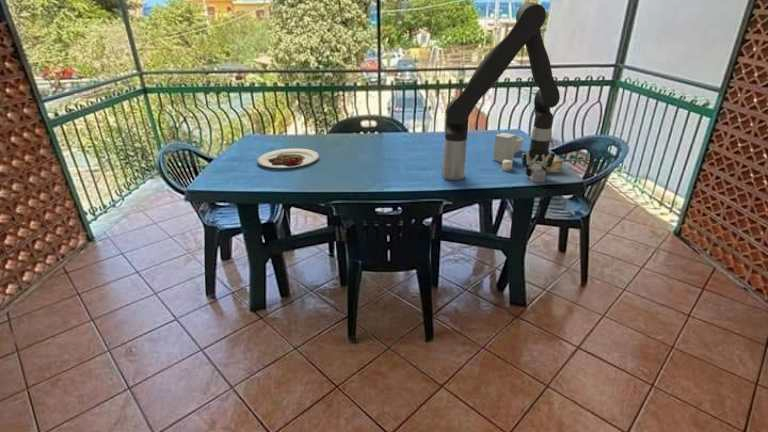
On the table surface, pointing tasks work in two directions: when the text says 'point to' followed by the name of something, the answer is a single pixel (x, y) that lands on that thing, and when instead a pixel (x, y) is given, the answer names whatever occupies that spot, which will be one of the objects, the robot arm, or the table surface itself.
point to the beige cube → (507, 165)
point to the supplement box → (504, 147)
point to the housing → (537, 173)
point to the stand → (555, 165)
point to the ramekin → (518, 144)
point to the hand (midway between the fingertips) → (535, 175)
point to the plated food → (288, 158)
